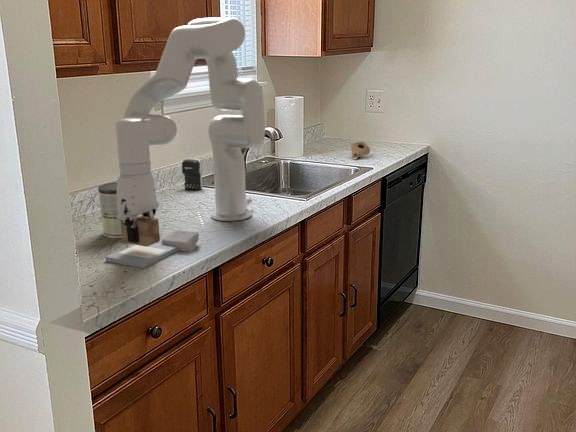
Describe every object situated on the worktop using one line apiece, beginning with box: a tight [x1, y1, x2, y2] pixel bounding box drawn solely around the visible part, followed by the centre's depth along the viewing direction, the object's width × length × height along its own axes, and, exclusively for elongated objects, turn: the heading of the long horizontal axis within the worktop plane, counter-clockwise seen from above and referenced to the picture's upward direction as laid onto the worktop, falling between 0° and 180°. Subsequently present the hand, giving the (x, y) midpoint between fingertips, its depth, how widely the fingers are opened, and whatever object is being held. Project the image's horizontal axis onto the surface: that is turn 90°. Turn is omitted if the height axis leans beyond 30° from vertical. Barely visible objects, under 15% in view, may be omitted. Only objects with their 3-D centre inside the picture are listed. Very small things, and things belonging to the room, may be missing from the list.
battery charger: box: [181, 158, 203, 191], centre depth 224 cm, size 7×4×11 cm, turn 67°
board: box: [105, 242, 179, 269], centre depth 155 cm, size 14×12×1 cm
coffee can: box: [97, 181, 139, 239], centre depth 172 cm, size 10×10×14 cm
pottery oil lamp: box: [350, 140, 371, 159], centre depth 280 cm, size 9×12×7 cm
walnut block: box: [121, 215, 161, 247], centre depth 153 cm, size 5×8×6 cm, turn 63°
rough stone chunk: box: [161, 229, 200, 253], centre depth 161 cm, size 10×6×6 cm, turn 59°
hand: (141, 238), depth 153 cm, fingers closed on walnut block, 5 cm apart
